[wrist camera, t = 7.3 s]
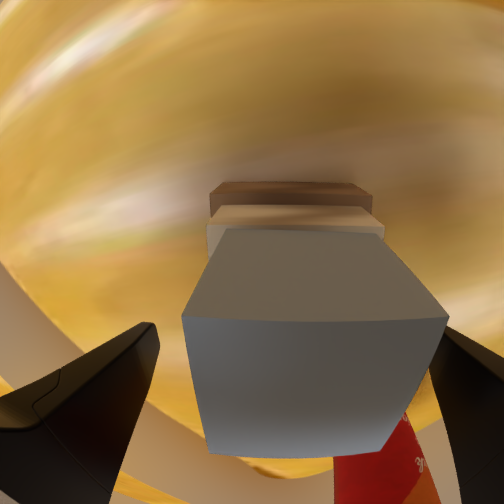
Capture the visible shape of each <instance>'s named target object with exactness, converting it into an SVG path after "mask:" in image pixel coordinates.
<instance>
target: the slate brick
mask: <svg viewBox="0 0 504 504" xmlns="http://www.w3.org/2000/svg"><path fill="white" fill-rule="evenodd" d="M181 316H182V323H183V329H184V336H185V342H186V347H187V353H188V359H189V364H190V369H191V375H192V380H193V385H194V390H195V394H196V399H197V404H198V408H199V413H200V417H201V421H202V426H203V430H204V434H205V438H206V442H207V446H208V450H209V453H211V454H219V455H229V456H240V457H255V458H318V457H333V456H345V455H354V454H362V453H369V452H376V451H380V450H381V449H382V447H383V446H384V444H385V443H386V441H387V440H388V438H389V437H390V435H391V434H392V432H393V430H394V429H395V427H396V426H397V424H398V422H399V421H400V419H401V417H402V416H403V414H404V412H405V411H406V409H407V407H408V405H409V404H410V402H411V400H412V398H413V396H414V395H415V393H416V391H417V389H418V387H419V385H420V383H421V381H422V379H423V377H424V375H425V373H426V371H427V369H428V367H429V365H430V363H431V360H432V358H433V356H434V354H435V352H436V349H437V347H438V345H439V342H440V340H441V337H442V335H443V332H444V330H445V327H446V325H447V322H448V319H449V317H450V316H449V315H448V314H447V312H446V311H445V310H444V309H443V307H442V306H441V305H440V304H439V303H438V301H437V300H436V299H435V298H434V297H433V295H432V294H431V293H430V292H429V291H428V290H427V288H426V287H425V286H424V285H423V284H422V283H421V281H420V280H419V279H418V278H417V277H416V276H415V275H414V274H413V272H412V271H411V270H410V269H409V268H408V267H407V266H406V265H405V264H404V263H403V261H402V260H401V259H400V258H399V257H398V256H397V255H396V254H395V253H394V252H393V251H392V250H391V249H390V248H389V247H388V246H387V245H386V243H385V242H384V241H383V240H382V239H381V238H380V237H379V236H378V235H377V234H376V233H354V232H330V231H302V230H268V229H226V230H225V232H224V234H223V236H222V238H221V239H220V241H219V243H218V245H217V247H216V249H215V251H214V253H213V255H212V257H211V258H210V260H209V262H208V264H207V266H206V268H205V270H204V272H203V274H202V276H201V278H200V280H199V282H198V284H197V286H196V287H195V289H194V291H193V293H192V295H191V297H190V299H189V301H188V303H187V305H186V307H185V309H184V311H183V313H182V315H181Z"/></svg>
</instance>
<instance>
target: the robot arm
mask: <svg viewBox="0 0 504 504" xmlns="http://www.w3.org/2000/svg"><path fill="white" fill-rule="evenodd" d="M159 351H160V341H159V337H158V333H157V329H156V326H155V324H154V323H151V322H141V323H139V324H137V325H136V326H134V327H132V328H130V329H129V330H127V331H125V332H123V333H122V334H120V335H118V336H116V337H115V338H113V339H111V340H109V341H107V342H106V343H104V344H102V345H100V346H99V347H97V348H95V349H93V350H91V351H90V352H88V353H86V354H84V355H83V356H81V357H79V358H77V359H75V360H74V361H72V362H70V363H68V364H67V365H65V366H63V367H62V368H61V369H57V370H56V371H54V372H52V373H50V374H48V375H47V376H45V377H43V378H41V379H39V380H37V381H35V382H33V383H31V384H28V385H26V386H24V387H22V388H20V389H17V390H15V391H13V392H10V393H8V394H6V395H3V396H1V397H0V504H109V501H110V498H111V494H112V491H113V488H114V485H115V482H116V479H117V476H118V473H119V470H120V468H121V464H122V462H123V459H124V456H125V453H126V450H127V447H128V445H129V442H130V439H131V436H132V434H133V431H134V428H135V425H136V422H137V420H138V417H139V415H140V412H141V409H142V407H143V404H144V401H145V399H146V396H147V394H148V391H149V388H150V385H151V381H152V377H153V373H154V369H155V365H156V362H157V358H158V354H159ZM429 371H430V375H431V380H432V384H433V387H434V391H435V394H436V397H437V400H438V403H439V406H440V410H441V413H442V416H443V420H444V423H445V427H446V430H447V434H448V438H449V442H450V446H451V450H452V454H453V458H454V463H455V468H456V472H457V477H458V483H459V487H460V495H461V502H462V504H504V358H503V357H501V356H499V355H498V354H496V353H494V352H492V351H491V350H489V349H487V348H486V347H484V346H482V345H480V344H479V343H477V342H475V341H473V340H472V339H470V338H468V337H466V336H464V335H463V334H461V333H459V332H457V331H456V330H454V329H452V328H450V327H448V326H447V325H446V327H445V330H444V332H443V335H442V337H441V340H440V342H439V345H438V347H437V349H436V352H435V354H434V356H433V358H432V360H431V363H430V365H429Z"/></svg>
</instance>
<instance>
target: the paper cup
mask: <svg viewBox="0 0 504 504" xmlns="http://www.w3.org/2000/svg"><path fill="white" fill-rule="evenodd" d="M333 462H334V504H441V502H440V499H439V496H438V493H437V490H436V488H435V484H434V482H433V479H432V476H431V473H430V471H429V468H428V466H427V463H426V460H425V458H424V455H423V453H422V450H421V448H420V445H419V443H418V440H417V438H416V436H415V433H414V431H413V428H412V426H411V424H410V421H409V419H408V417H407V414H406V412H404V414H403V416H402V417H401V419H400V421H399V422H398V424H397V426H396V427H395V429H394V430H393V432H392V434H391V435H390V437H389V438H388V440H387V441H386V443H385V444H384V446H383V447H382V449H381V450H380V451H376V452H369V453H362V454H354V455H345V456H333Z"/></svg>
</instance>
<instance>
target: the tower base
mask: <svg viewBox="0 0 504 504" xmlns="http://www.w3.org/2000/svg"><path fill="white" fill-rule="evenodd" d="M371 208H372V195H370V194H369V193H367V192H365V191H364V190H362V189H360V188H359V187H357V186H355V185H354V184H344V183H316V182H230V183H222V184H221V185H220V186H219V187H217V188H216V189H215V190H214V191H213V192H211V193H210V210H211V219H210V220H209V222H208V223H207V224H206V234H207V246H208V258H209V260H210V258H211V257H212V255H213V253H214V251H215V249H216V247H217V245H218V243H219V241H220V239H221V238H222V236H223V234H224V232H225V230H226V229H268V230H302V231H330V232H354V233H376V234H377V235H378V236H379V237H380V238H381V239H382V240H384V232H385V226H384V225H383V224H381V223H380V222H379V221H378V220H377V219H375V218H374V217H373V216H372V215H371Z"/></svg>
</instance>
